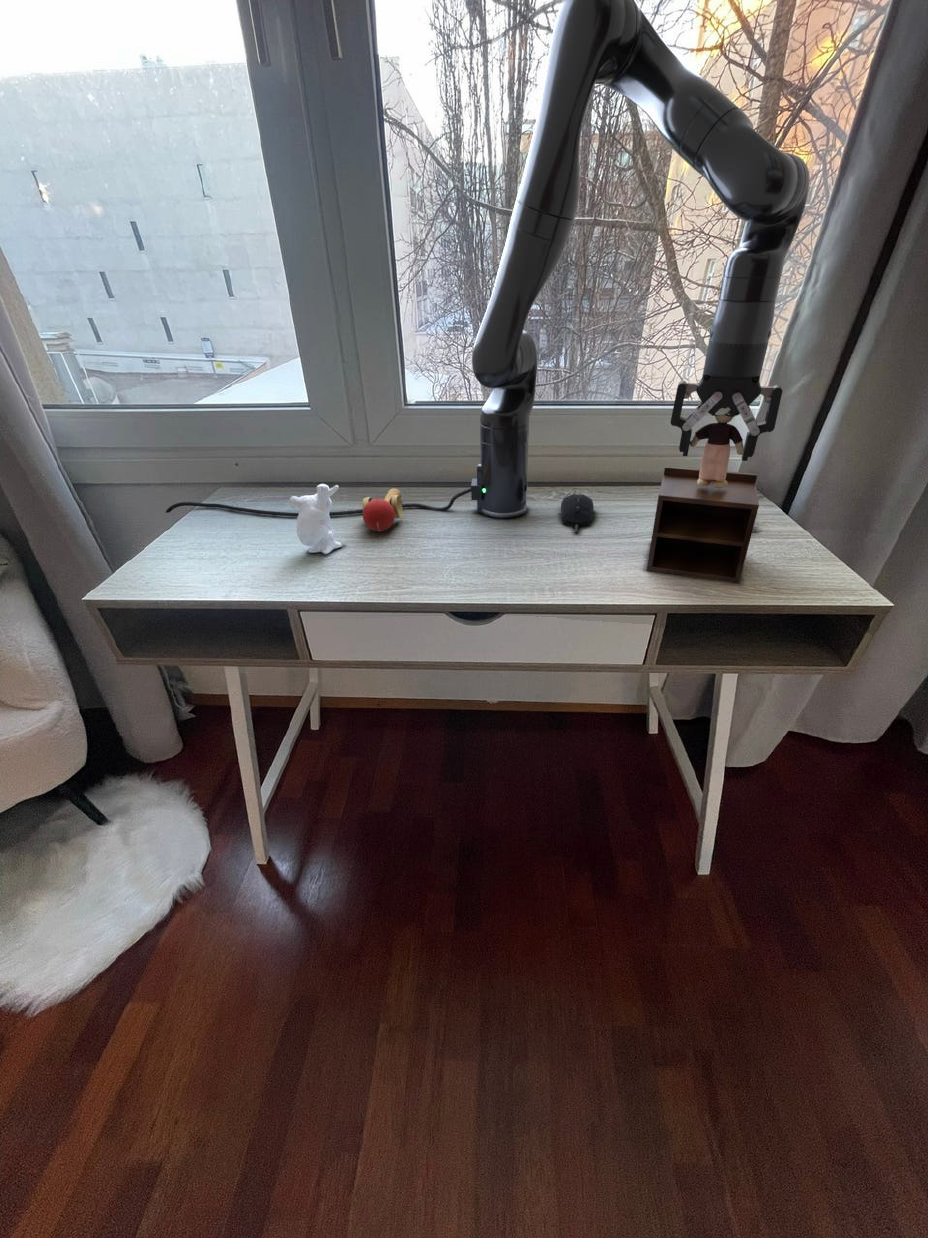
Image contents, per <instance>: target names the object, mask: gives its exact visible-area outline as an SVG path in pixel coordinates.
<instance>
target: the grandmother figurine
mask: <svg viewBox="0 0 928 1238" xmlns="http://www.w3.org/2000/svg"><path fill="white" fill-rule="evenodd" d="M730 410H731V409H730V408H725V409H724V408H721V409H719V410H718V411H717V412H716V413H715V415H719V416H714V418H715V420H716V422H712V423H711V422H710V423H708V424H705V425H704V426H702V427H700V428H699V429H698V430H696V431H695V432H694V435H693V437H692V439H690V445H689V447H693V448H694V447H696V446H697V444H698V443H699V442H700V441H702V440H707V441H706V443H705V445H704V448H703V452H702V455H701V460H700V467H699V469H700V473H699V479H698V481H697V484H698V485H701V486H708V485H709V484H710V483H711V481H710V480H716V481H715V482H714V484H713V485H712V486H713V487H716V488H724V487H727V486H728V483H727V481H726V480H725V479H726V474H727V471H728V467H729V461H730V455H731V444H730V443H731V441H732V442H733V445H735V446H734V447H735V449H736V454H737V455H738V456H742V454H743V453H744V449H743V448H744V439H743V437H742V435H741V433H740V431H739V429H738V428H737V427H736V426H735V425H733V424H731V423H730V422H731V421H732V420H733V419H734V417H728V416H725V415H724V414H726V413H728V412H729V411H730ZM728 415H730V414H728Z"/></svg>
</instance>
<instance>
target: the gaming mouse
mask: <svg viewBox="0 0 928 1238" xmlns="http://www.w3.org/2000/svg"><path fill="white" fill-rule="evenodd" d="M560 505H561V506H560V514H561V516H560V517H561V521H562V522H563V523H564V524H566V525H569V526H574V529H575V531H574V533H575V534H579V533H578V530H579V527H583V526H588V525H590V524H592V520H593V515H594V514H593V513H594V501H593V499H592V498H591V497H589V496H587V495H585V494H577V493H576V494H575V493H572V494H571V495H568V496H565V497H563V499H562V500H561V503H560Z"/></svg>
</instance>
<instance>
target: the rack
mask: <svg viewBox="0 0 928 1238" xmlns="http://www.w3.org/2000/svg"><path fill="white" fill-rule="evenodd" d="M699 473H700V468H692V467H691V468H690V467H678V466H669V465H665V466H664V470H663V476H662V480H661V484H660V488H659V492H658V496H657V502H656V509H655V515H654V519H653V521H654V522H653V527H652V532H651V539H650V544H649V545H650V546H649V552H648V558H647V564H646V571H648V572H656V573H663V574H669V575H678V576H685V577H692V578H700V579H705V580H714V581H722V582H729V583H736V584H739V583H740V581H741V577H742V573H743V569H744V565H745V562H746V559H747V558H746V557H747V554H748V550H749V546H750V542H751V539H752V535H753V532H754V530H753V527H754V526H755V523H756V519H757V515H758V512H759V507H760V503H759V496H758V491H757V490H758V489H757V480H758V473H750V472H739V471H729V470H727V474H726V479H725V480H726V481H727V483H728V486H727V487H724V488H716V487H713V486H712V485H713V484H714V482H715V481H716V480H710V481H711V483H710V484H709V485H708V486H701V485H698V484H697V481H698V479H699Z"/></svg>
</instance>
